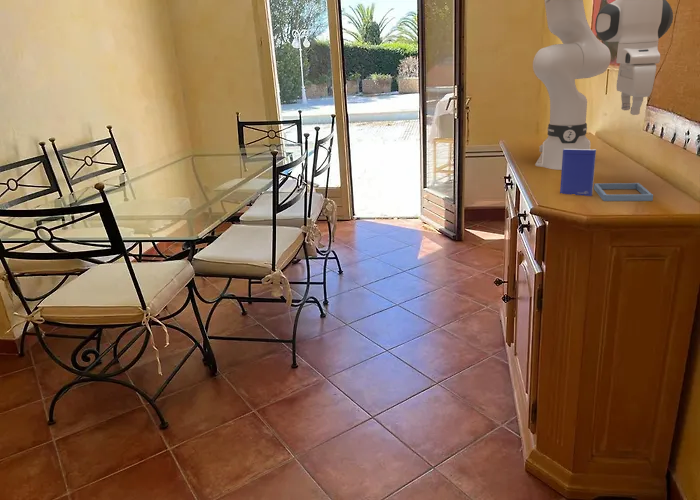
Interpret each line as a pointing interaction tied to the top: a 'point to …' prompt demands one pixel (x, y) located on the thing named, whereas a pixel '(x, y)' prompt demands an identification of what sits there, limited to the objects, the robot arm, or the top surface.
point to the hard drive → (578, 171)
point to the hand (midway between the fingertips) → (629, 112)
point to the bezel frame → (643, 196)
